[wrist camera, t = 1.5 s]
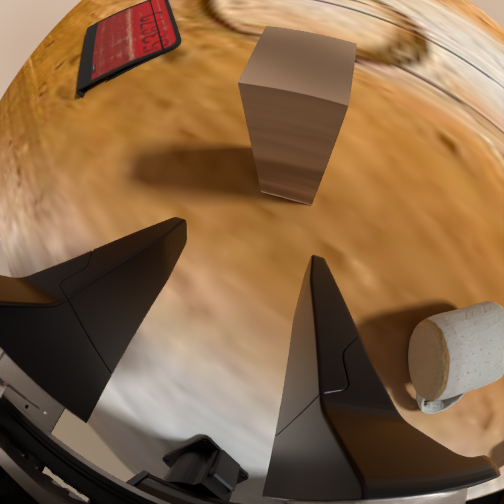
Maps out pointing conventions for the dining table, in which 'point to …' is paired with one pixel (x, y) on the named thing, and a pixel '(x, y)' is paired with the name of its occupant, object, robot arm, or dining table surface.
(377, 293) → the dining table surface
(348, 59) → the walnut block
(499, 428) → the dining table surface
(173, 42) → the binder
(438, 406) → the ceramic mug
